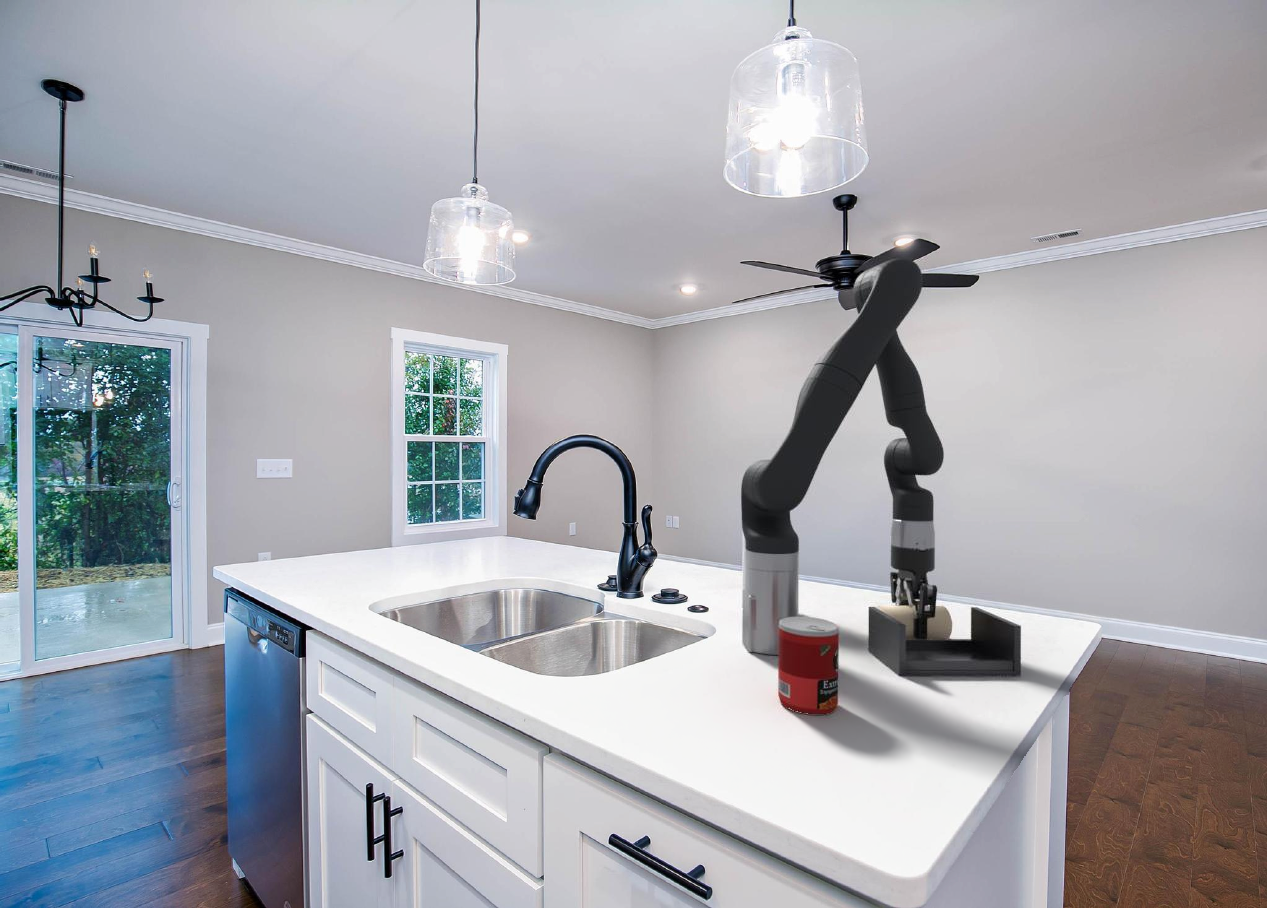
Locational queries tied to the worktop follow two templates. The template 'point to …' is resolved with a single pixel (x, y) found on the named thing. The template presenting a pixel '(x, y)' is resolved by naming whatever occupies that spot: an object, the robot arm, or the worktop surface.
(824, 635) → the canned food
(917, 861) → the worktop surface
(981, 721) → the worktop surface
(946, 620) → the cylinder
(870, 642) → the roll holder
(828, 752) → the worktop surface
